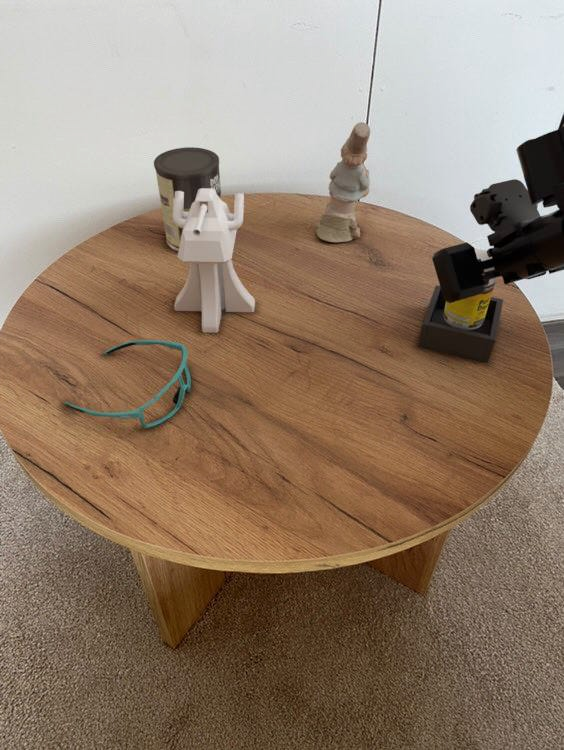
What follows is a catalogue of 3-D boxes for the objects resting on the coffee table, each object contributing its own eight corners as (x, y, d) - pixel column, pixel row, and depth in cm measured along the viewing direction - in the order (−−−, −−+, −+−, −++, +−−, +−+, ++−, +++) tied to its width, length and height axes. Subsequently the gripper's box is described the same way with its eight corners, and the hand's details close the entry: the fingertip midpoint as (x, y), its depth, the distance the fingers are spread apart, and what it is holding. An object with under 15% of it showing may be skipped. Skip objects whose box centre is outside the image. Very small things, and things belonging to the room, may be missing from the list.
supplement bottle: (474, 337, 78) (492, 273, 71) (435, 323, 81) (450, 259, 74) (489, 316, 82) (508, 253, 75) (451, 303, 84) (467, 240, 77)
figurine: (357, 249, 99) (370, 131, 85) (310, 241, 101) (314, 124, 87) (368, 224, 105) (381, 109, 91) (323, 216, 107) (329, 103, 93)
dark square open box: (496, 321, 85) (503, 299, 82) (488, 362, 79) (495, 340, 76) (430, 306, 88) (435, 284, 85) (417, 345, 81) (422, 323, 79)
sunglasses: (166, 443, 69) (156, 414, 65) (60, 423, 73) (45, 395, 70) (211, 365, 78) (204, 336, 75) (115, 352, 82) (104, 324, 79)
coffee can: (235, 231, 104) (230, 153, 94) (206, 260, 97) (197, 179, 87) (186, 218, 107) (176, 142, 97) (154, 245, 100) (140, 166, 90)
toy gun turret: (167, 336, 83) (146, 223, 70) (182, 282, 92) (166, 173, 80) (251, 338, 82) (245, 224, 70) (257, 283, 92) (253, 175, 79)
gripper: (596, 155, 65) (506, 203, 80) (459, 186, 60) (389, 232, 75) (624, 250, 65) (529, 281, 80) (489, 289, 60) (414, 315, 75)
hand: (467, 275), depth 78 cm, fingers closed on supplement bottle, 5 cm apart
